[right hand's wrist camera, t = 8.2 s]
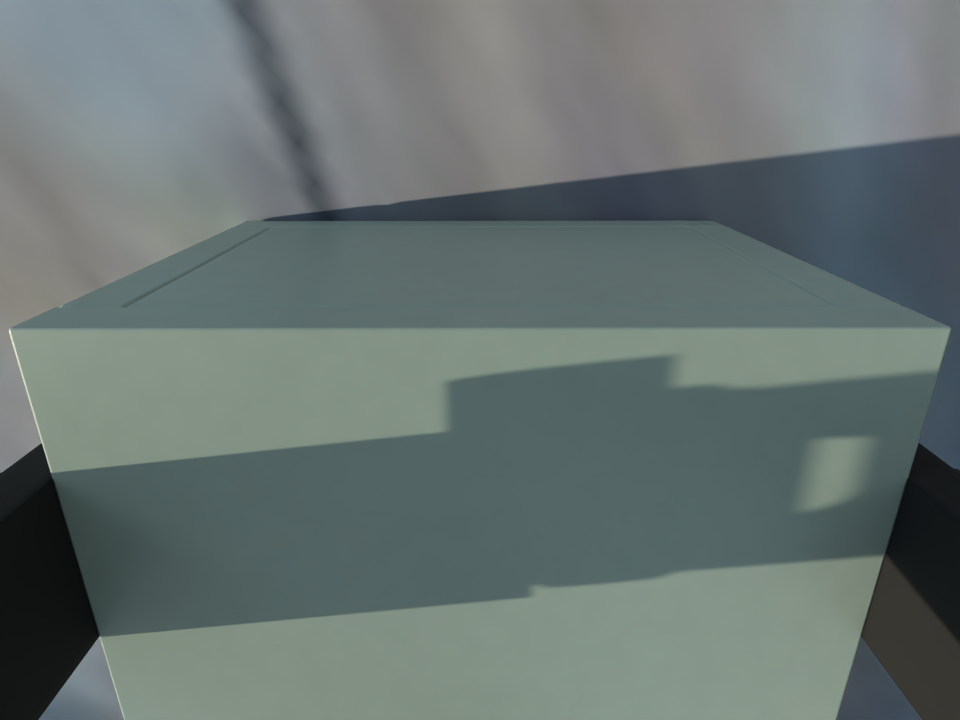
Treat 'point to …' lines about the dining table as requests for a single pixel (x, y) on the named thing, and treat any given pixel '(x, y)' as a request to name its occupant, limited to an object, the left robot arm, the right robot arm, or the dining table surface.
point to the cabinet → (480, 470)
